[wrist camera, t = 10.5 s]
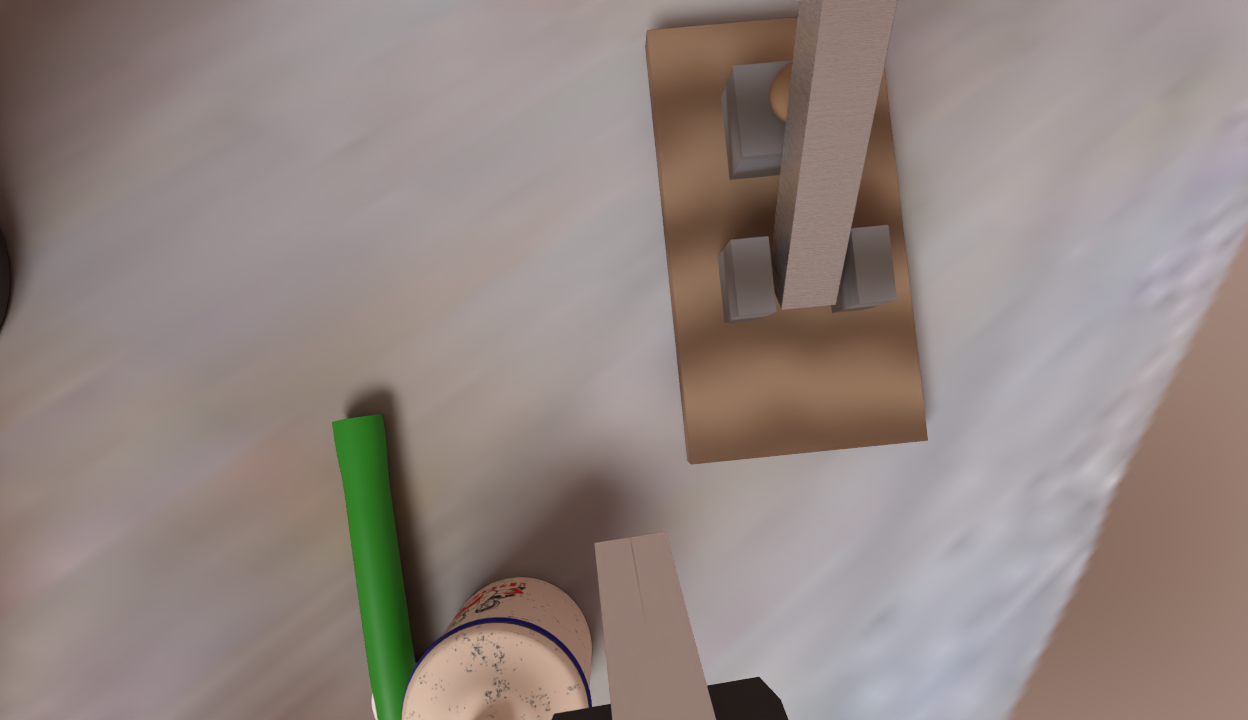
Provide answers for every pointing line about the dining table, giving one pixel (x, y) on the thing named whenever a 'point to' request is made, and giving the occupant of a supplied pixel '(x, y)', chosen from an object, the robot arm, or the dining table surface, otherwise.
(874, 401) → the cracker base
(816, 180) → the lever
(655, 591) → the robot arm
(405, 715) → the teacup with lid
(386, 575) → the green onion
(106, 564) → the dining table surface
